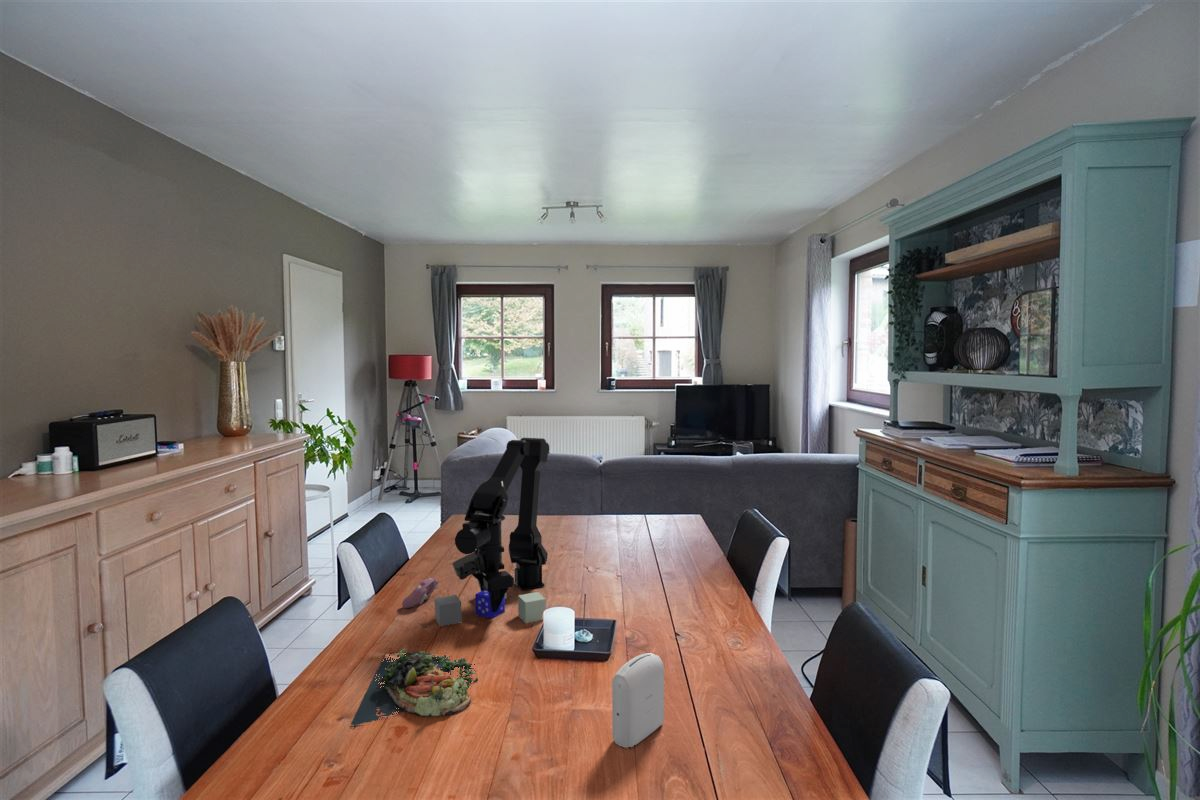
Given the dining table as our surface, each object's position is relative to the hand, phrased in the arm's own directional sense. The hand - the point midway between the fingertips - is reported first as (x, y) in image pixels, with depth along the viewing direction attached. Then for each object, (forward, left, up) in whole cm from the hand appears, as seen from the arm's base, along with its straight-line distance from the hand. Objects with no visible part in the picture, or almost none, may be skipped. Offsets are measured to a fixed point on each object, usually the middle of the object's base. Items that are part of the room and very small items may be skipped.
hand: (490, 606), depth 154 cm
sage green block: (-8, +7, -2) cm, 11 cm away
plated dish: (+20, +28, -2) cm, 35 cm away
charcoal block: (+10, 0, -2) cm, 10 cm away
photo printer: (-7, +59, -2) cm, 59 cm away
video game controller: (+13, -15, -2) cm, 20 cm away
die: (0, 0, -2) cm, 2 cm away
